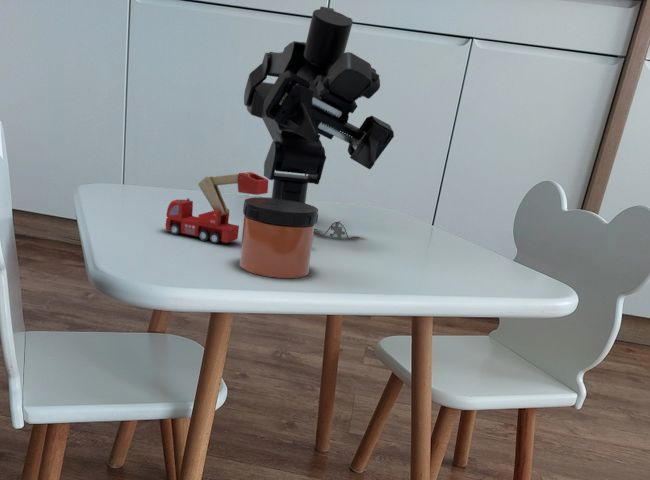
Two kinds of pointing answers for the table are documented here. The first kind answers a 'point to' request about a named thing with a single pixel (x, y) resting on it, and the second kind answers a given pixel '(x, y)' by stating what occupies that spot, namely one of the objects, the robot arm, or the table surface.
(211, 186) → the toy fire truck
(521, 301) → the table surface
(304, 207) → the jar lid
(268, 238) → the jar
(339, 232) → the pendant
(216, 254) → the table surface
